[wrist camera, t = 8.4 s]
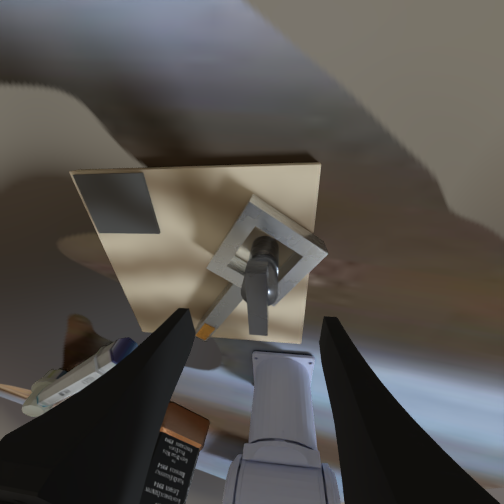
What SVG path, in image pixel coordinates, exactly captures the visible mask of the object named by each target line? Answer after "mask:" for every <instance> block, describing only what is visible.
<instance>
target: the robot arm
mask: <svg viewBox="0 0 504 504" xmlns="http://www.w3.org/2000/svg"><path fill="white" fill-rule="evenodd" d="M195 334H196V332H195V328H194V325H193V321H192V317H191V314H190V310H189V308H178V309H177V310H176V311H175V312H174V313H173V314H172V315H171V316H170V317H169V318H168V319H167V320H166V321H165V322H164V323H162V324H161V325H160V326H159V327H158V328H157V329H156V330H155V331H154V332H153V333H152V334H151V335H150V336H149V337H148V338H147V339H146V340H145V341H143V343H142V344H140V345H139V346H138V347H137V348H136V349H134V350H133V351H132V352H131V353H130V354H129V355H127V356H126V357H125V358H124V359H123V360H121V361H120V362H119V363H118V364H116V365H115V366H114V367H113V368H111V369H110V370H109V371H107V372H106V373H105V374H103V375H102V376H101V377H99V378H98V379H96V380H95V381H93V382H92V383H90V384H89V385H88V386H86V387H85V388H83V389H82V390H80V391H79V392H77V393H76V394H74V395H73V396H71V397H70V398H68V399H67V400H65V401H63V402H62V403H60V404H59V405H57V406H55V407H54V408H52V409H51V410H49V411H47V412H45V413H44V414H42V415H40V416H39V417H37V418H35V419H33V420H32V421H30V422H28V423H26V424H25V425H23V426H21V427H19V428H17V429H16V430H14V431H12V432H10V433H9V434H7V435H5V436H4V437H3V438H2V439H1V441H0V504H139V503H140V499H141V495H142V492H143V488H144V484H145V480H146V476H147V473H148V469H149V466H150V462H151V459H152V455H153V452H154V448H155V445H156V442H157V438H158V435H159V432H160V429H161V425H162V422H163V419H164V416H165V413H166V410H167V407H168V404H169V402H170V399H171V396H172V394H173V392H174V389H175V387H176V385H177V382H178V380H179V378H180V375H181V373H182V371H183V368H184V366H185V363H186V361H187V359H188V356H189V354H190V351H191V348H192V345H193V341H194V338H195ZM319 345H320V354H321V362H322V367H323V372H324V376H325V381H326V386H327V390H328V395H329V399H330V404H331V408H332V413H333V418H334V423H335V430H336V437H337V445H338V452H339V460H340V468H341V476H342V484H343V493H344V501H345V504H500V503H499V502H498V501H497V500H496V499H495V498H493V497H492V496H491V495H490V494H489V493H488V492H487V491H486V490H485V489H484V488H482V487H481V486H480V485H479V484H478V483H477V482H476V481H475V480H474V479H473V478H472V477H471V476H470V475H469V474H467V473H466V472H465V471H464V470H463V469H462V468H461V467H460V466H459V465H458V464H457V463H456V462H455V461H454V460H453V459H452V458H451V457H450V456H449V455H448V454H447V453H446V452H445V451H444V450H443V449H442V448H441V447H440V446H439V445H438V444H437V443H436V442H435V441H434V440H433V439H432V438H431V437H430V436H429V435H428V434H427V433H426V432H425V431H424V430H423V429H422V428H421V427H420V426H419V425H418V424H417V422H416V421H415V420H414V419H413V418H412V417H411V416H410V415H409V414H408V413H407V412H406V410H405V409H404V408H403V407H402V406H401V405H400V404H399V403H398V401H397V400H396V399H395V398H394V397H393V396H392V394H391V393H390V392H389V391H388V390H387V388H386V387H385V386H384V385H383V383H382V382H381V381H380V380H379V378H378V377H377V376H376V374H375V373H374V372H373V371H372V369H371V368H370V367H369V365H368V364H367V362H366V361H365V360H364V358H363V357H362V355H361V354H360V353H359V351H358V350H357V348H356V347H355V345H354V344H353V342H352V341H351V339H350V338H349V336H348V334H347V333H346V331H345V330H344V328H343V326H342V325H341V323H340V321H339V319H338V318H337V317H325V316H324V319H323V324H322V330H321V336H320V341H319ZM252 362H253V375H254V394H253V404H252V413H251V422H250V432H249V441H248V443H245V444H244V448H243V454H238V455H237V456H236V458H235V459H234V460H233V462H232V463H231V465H230V467H229V471H228V474H227V478H226V483H225V488H224V495H223V502H222V504H341V502H340V496H339V491H338V485H337V481H336V477H335V474H334V472H333V471H332V470H331V469H330V468H329V465H328V464H327V463H322V470H321V461H320V452H319V451H317V443H316V433H315V424H314V415H313V406H312V397H311V387H310V385H311V380H312V374H313V368H314V363H315V359H314V357H313V356H308V355H296V354H284V353H272V352H260V351H254V352H253V353H252Z"/></svg>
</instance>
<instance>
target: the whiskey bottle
mask: <svg viewBox="0 0 504 504" xmlns="http://www.w3.org/2000/svg"><path fill="white" fill-rule="evenodd" d="M209 425H210V423H209V421H208V420H206V419H204V418H202V417H200V416H198V415H196V414H194V413H192V412H190V411H188V410H186V409H184V408H182V407H181V406H179V405H177V404H175V403H170V402H169V404H168V407H167V410H166V413H165V416H164V419H163V422H162V425H161V429H160V432H159V435H158V438H157V442H156V445H155V448H154V452H153V455H152V459H151V462H150V466H149V469H148V473H147V476H146V480H145V484H144V488H143V492H142V495H141V499H140V503H139V504H185V503H186V499H187V496H188V492H189V488H190V485H191V481H192V477H193V474H194V470H195V467H196V463H197V459H198V456H199V452H200V450H201V449H202V448H203V446H204V443H205V439H206V436H207V432H208V429H209Z"/></svg>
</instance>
